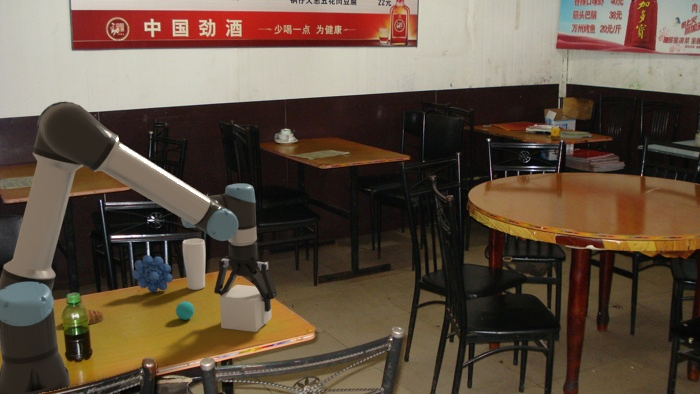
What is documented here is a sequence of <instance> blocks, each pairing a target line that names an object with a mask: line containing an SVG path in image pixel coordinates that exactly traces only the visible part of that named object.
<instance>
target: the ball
mask: <svg viewBox="0 0 700 394" xmlns="http://www.w3.org/2000/svg"><path fill="white" fill-rule="evenodd" d="M175 314H176V316H177V317H178V319H181V320H184V321H185V320H187V321H188V320H189V319H191V318H192V317H193V315H194V314H195V307H194V305H193V304H192V303H191V302H189V301H181V302H179V304H177V306H176V307H175Z"/></svg>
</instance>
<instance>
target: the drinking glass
mask: <svg viewBox="0 0 700 394" xmlns="http://www.w3.org/2000/svg"><path fill="white" fill-rule="evenodd" d="M182 256H183V262H184V267H185V268H184V269H185V275H186V282H187V288H188V289H189V290H191V291H192V290H193V291H198V290H202V289H203V288H205V286H206V242H205V240H204V238H203V239H202V238H198V237H197V238H188V239H185V240H183V241H182Z"/></svg>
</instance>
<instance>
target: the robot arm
mask: <svg viewBox="0 0 700 394" xmlns="http://www.w3.org/2000/svg"><path fill="white" fill-rule="evenodd" d="M32 155H33V156H34V158H35V160H36V167H35V171H34V175H33V178H32V182H31V185H30V186H31V187H30V190H29V193H28V198H27V202H26V206H25V210H24V214H23V217H22V221H21V226H20V229H19V234H18V236H17V241H16V244H15V245H16V246H15V249H14V252H13V258H12V259H11V260H9V261H8V262H6V263H4V264H3V267H2V272H1V276H0V354H1V365H0V394H39V393H42V392H49V391H54V390H58V389H62V388H65V387H67V388H68V387H69V386H70V385H71V377H70V372H69V370H68V368H67V367H66V366H65V365H66V364H65V362H64V360H63V358H62V356H61V354H60V352H59V346H58V345H59V344H58V338H57V327H56V319H55V311H54V305H55V301H54V297H53V295H52V293H53V291H52V290H53V287H54V283H55V278H56V273H55V271H54V270H53V268H52V264H53V259H54V256H55V252H56V249H57V248H56V247H57V246H58V240H59V237H60V233H61V228H62V226H63V225H62V224H63V221H64V218H65V215H66V210H67V205H68V202H69V198H70V194H71V191H72V188H73V183H74V180H75V179H74V178H75V175H76V172H77V171H78V170H79V169H81V168H83V167H85V168H87V169H88V170H90V171H92V172H94V173H96V172H99V171H101V172H103V173H105V174H106V175H107V176H110V177H111V178H113V179H115V180H116V181H118V182H120V183H121V184H123V185H125V186H127V187H128V188H130V189H131V190H133V191H135V192H136V193H139V194H140V195H142V196H144V197H146V198H147V199H149V200H151V201H152V202H154V203H156V204H157V205H159V206H160V207H162V208H163V209H166V210H167V211H169V212H170V213H173V214H174V215H176V216H177V217H179V218H180V220H181V223H182V226H183V227H184V228H187V229H188V228H190V229H191V228H195V229H196V228H197V229H199V230H201V231H203V232H204V233H206V234H207V235H208V236H209V237H210V238H212V239H214V240H216V241H219V242H224V241H228V242H229V243H228V256H229V259H228V258H226V257H224V258H222V259H221V260H219V262H218V266H219V270H218V274H217V279H216V282H215V286H214V291H213V292H214V294H216V295H220V296H222V295H223V294H224V293H226V292H227V291H229V290H230V289H231V288H233V287H232V286H233V285H234V283H235V281H236V279H237V277H241V276H242V277H249V280H251V281H252V283H253V284H254V285H255V286H256V288H257V289H258V291H259V293H260V294H261V296H262V298H263V300H261V316H262V324H264V325H266V324H267V323H268V322H269V321H268V311H270V309H271V310H272V300H274V298H277V295H278V292H277V290H276V286H275V284H274V280H273V277H272V275H271V272H270V262H269V261H265V262H262V261H260V260H259V259H258V242H257V240H258V236H257V214H256V212H257V211H256V203H257V202H256V195H255V189H254V186H253V185H251V184H249V183H233V184H229V185H226V187H225V192H224V193H222V194H216V195H206V194H203V193H202V192H200V191H199V190H197V189H196V188H194V187H192V186H191V185H189V184H187V183H186V182H184V181H183V180H181V179H180V178H178V177H176V175H173V174H172V173H170V172H168V171H166V170H165V169H163V168H162V167H160V166H158V165H157V164H156V163H154V162H152V161H151V160H149V159H147V158H146V157H144V156H143V155H141V154H139V153H138V152H136V151H135V150H134V149H131V148H130V147H128V146H127V145H125V144H123V142H120V139H119V135H118V134H117V133H114V132H113V131H111V130H110V129H108V128H107V127H106V126H104V125H103V124H102V123H101V122H100V121H98V120H97V119H96V118H95V117H94V116H93V114H92V113H90V112H89V111H87V110H86V109H85V108H84V107H82V106H81V105H80V104H77V103H75V102H73V101H67V100H66V101H58V102H54V103H51V104H50V105H48V106H47V107H46V108H44V110H43V111H42V112H41V113H40V115H39V117H38V120H37V133H36V139H35V142H34V146H33V150H32ZM229 266H230V268H231V269H232V270H231V272H230V273H229V276H228V279H227V280H226V276H227V272H228V267H229ZM258 268H259V270H258ZM259 271H260V272H261V276H262V277H261V276H260V273H259ZM262 279H263V280H262ZM225 280H226V282H225ZM224 283H225V284H224ZM267 321H268V322H267ZM266 322H267V323H266ZM265 323H266V324H265Z"/></svg>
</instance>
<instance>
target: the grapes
mask: <svg viewBox="0 0 700 394" xmlns="http://www.w3.org/2000/svg"><path fill="white" fill-rule="evenodd" d="M134 267H135V270H133V272H132V276H133V278H134V279H135V280H138V281H137V285H138V287H140V288H141V289H146V288H147V290H148V291H149V292H150V293H157V292H158V290H160V291H165V290H167V289H168V284H169V283H171V282H172V281H173V279H174V278H173V275H172V274H171V270H172V267H171V265H169V264H168V263H164V260H163V258H162V257H161V256H155V257H152V256H151V255H147V254H145V255H144V256H143V257H142V260H140V259H139V260H136V261H135V262H134Z"/></svg>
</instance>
